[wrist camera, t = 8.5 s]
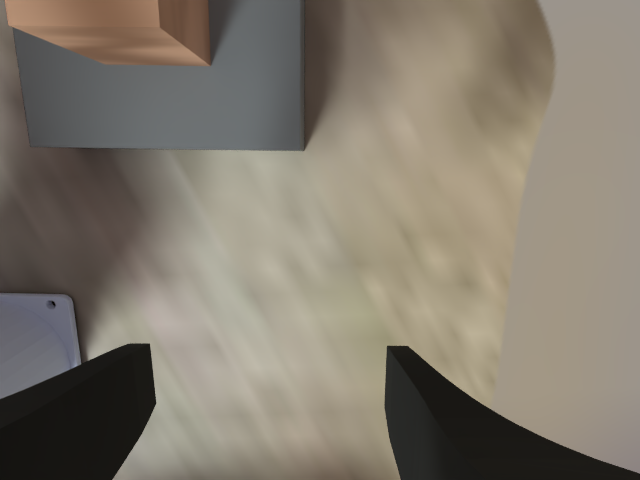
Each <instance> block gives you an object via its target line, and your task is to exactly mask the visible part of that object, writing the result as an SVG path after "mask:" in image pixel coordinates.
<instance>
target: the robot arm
mask: <svg viewBox="0 0 640 480" xmlns="http://www.w3.org/2000/svg"><path fill="white" fill-rule="evenodd" d="M51 301H54V302H55V304H56V306H54V305H53V304H52V302H51ZM155 405H156V397H155V387H154V378H153V369H152V359H151V350H150V344H127V345H124V346H121V347H119V348H116V349H114V350H111V351H109V352H107V353H105V354H102V355H100V356H98V357H96V358H94V359H91V360H89V361H87V362H85V363H83V364H81V358H80V351H79V344H78V336H77V329H76V322H75V314H74V307H73V302H72V299H71V298H70V297H69V296H67V295H64V294H26V293H0V480H112V479H113V478H114V476H115V475H116V473H117V472H118V470H119V469H120V467H121V466H122V464H123V463H124V461H125V459H126V458H127V456H128V455H129V453H130V452H131V450H132V449H133V447H134V445H135V444H136V442H137V441H138V439H139V438H140V436H141V434H142V432H143V430H144V428H145V426H146V424H147V422H148V420H149V418H150V416H151V414H152V412H153V409H154V407H155ZM385 412H386V419H387V426H388V432H389V438H390V442H391V446H392V449H393V453H394V456H395V460H396V464H397V467H398V471H399V474H400V478H401V480H640V474H639V473H636V472H633V471H630V470H627V469H624V468H621V467H618V466H615V465H612V464H609V463H606V462H603V461H600V460H597V459H594V458H592V457H589V456H586V455H584V454H581V453H579V452H576V451H574V450H571V449H569V448H567V447H564V446H562V445H559V444H557V443H555V442H553V441H550V440H548V439H546V438H544V437H541V436H539V435H537V434H535V433H533V432H531V431H529V430H527V429H525V428H523V427H521V426H519V425H517V424H515V423H513V422H512V421H510V420H508V419H506V418H504V417H502V416H501V415H499V414H497V413H496V412H494V411H492V410H491V409H489V408H487V407H486V406H484V405H482V404H481V403H479V402H478V401H476V400H475V399H473V398H472V397H470V396H469V395H468V394H466V393H465V392H463V391H462V390H461V389H459V388H458V387H456V386H455V385H454V384H453V383H451V382H450V381H449V380H447V379H446V378H445V377H444V376H442V375H441V374H440V373H439V372H437V371H436V370H435V369H434V368H433V367H432V366H430V365H429V364H428V363H427V362H426V361H425V360H423V359H422V358H421V357H420V356H419V355H418V354H417V353H415V352H414V351H413V350H412V349H411V348H409V347H408V346H387V358H386V383H385Z"/></svg>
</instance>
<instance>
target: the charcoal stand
mask: <svg viewBox="0 0 640 480" xmlns="http://www.w3.org/2000/svg"><path fill="white" fill-rule="evenodd" d="M208 8H209V33H210V58H211V66H170V65H106V64H103V63H100V62H98V61H95V60H93V59H90V58H88V57H85V56H83V55H80V54H78V53H75V52H73V51H71V50H68V49H66V48H63V47H61V46H58V45H56V44H53V43H51V42H48V41H46V40H43V39H41V38H38V37H36V36H33V35H31V34H29V33H26V32H24V31H21V30H19V29H16V28H14V27H13V33H14V40H15V47H16V54H17V60H18V67H19V74H20V81H21V87H22V94H23V101H24V108H25V114H26V121H27V128H28V135H29V141H30V147H57V148H115V149H193V150H270V151H304V79H305V0H208Z"/></svg>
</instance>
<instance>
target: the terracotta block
mask: <svg viewBox="0 0 640 480" xmlns="http://www.w3.org/2000/svg"><path fill="white" fill-rule="evenodd" d="M5 5H6V12H7V19H8V25H9V26H11V27H14V28H16V29H19V30H21V31H24V32H26V33H29V34H31V35H33V36H36V37H38V38H41V39H43V40H46V41H48V42H51V43H53V44H56V45H58V46H61V47H63V48H66V49H68V50H71V51H73V52H75V53H78V54H80V55H83V56H85V57H88V58H90V59H93V60H95V61H98V62H100V63H103V64H106V65H170V66H211V58H210V33H209V8H208V0H5Z"/></svg>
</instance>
